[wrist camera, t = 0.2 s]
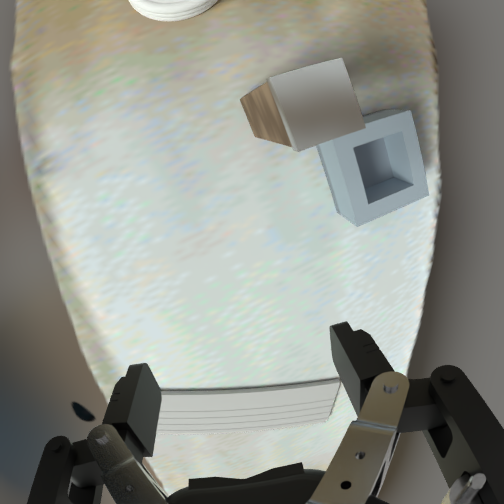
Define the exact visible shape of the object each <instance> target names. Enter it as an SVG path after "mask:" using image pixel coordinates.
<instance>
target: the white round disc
mask: <svg viewBox="0 0 504 504" xmlns="http://www.w3.org/2000/svg"><path fill="white" fill-rule="evenodd" d="M128 1H129V2H130V4H131V5H132V7H133V8H134V9H135V10H136V11H138V12H139V13H140V14H142V15H144V16H146V17H148V18H151V19H154V20H159V21H179V20H184V19H188V18H191V17H194V16H196V15H199V14H201V13H202V12H204V11H206V10H207V9H209V8H210V7H212V6H213V5H214V4H215V3H216V2H217V1H218V0H128Z"/></svg>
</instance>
